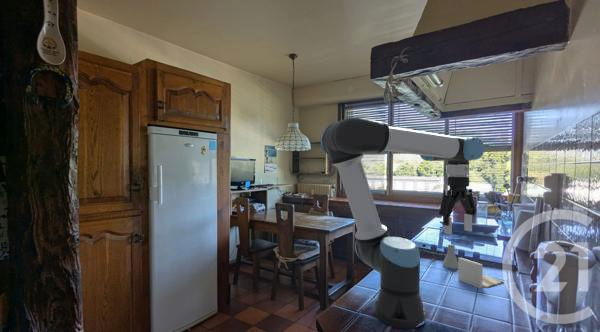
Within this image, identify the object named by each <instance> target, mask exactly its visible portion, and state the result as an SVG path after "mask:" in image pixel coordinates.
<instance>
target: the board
mask: <svg viewBox="0 0 600 332" xmlns="http://www.w3.org/2000/svg"><path fill="white" fill-rule="evenodd" d="M501 284H504V281H502V280H500V279H497V278H495V277H491V276H489V275H485V274H483V285H482V288H485V289H488V288H491V287H494V286H499V285H501Z"/></svg>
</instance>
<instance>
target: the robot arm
mask: <svg viewBox="0 0 600 332" xmlns="http://www.w3.org/2000/svg"><path fill="white" fill-rule="evenodd" d="M320 146H321V148H322V150H323V152H324V153H326V155H328V157H329V160H330V163H331V165H332V166H334V167H336V168H337V172H338V174H339V177H340V180H341V183H342V186H343V189H344V192H345V196H346V198H347V201H348V204H349V208H350V211H351V214H352V217H353V220H354V223H355V226H356V229H357V230H356V231H355V234H354V237H355V243H354V249H355V253H356V256H357V257H358V258H359V259H360V261H362V263H364V264H366V265H367V266H369V267H370V268H371V269H373V270H375V271H376V272H378V273H379V274H380V276H379V278H380V283H379V285H380V286H379V287H380V289H379V291H378V295H377V299H376V301H375V304H374V315H375V317H376V318H377V319H378V320H379V321H380V322H381V323H383V324H385V325H387V326H389V327H393V328H396V329H403V330H404V329H405V330H414V329H417V328H416V326H417V325H418V324H420V323H422V322H423V321H425V320H427V318H426V317H427V315H426V310H425V308H424V305H423V301H422V297H421V293H420V290H421V289H420V282H421V278H420V277H421V272H420V271H421V257H420V256H421V255H420V254H421V253H420V249H419V246H418V245H417V244H416V243H415V242H413V241H412V240H410V239H408V238H402V237H399V236H390V233H389V230H388V228H387V226H386V225H384V224H383V223H381V220H380V216H379V213H378V210H377V207H376V204H375V199H374V198H373V194H372V191H371V188H370V185H369V181H368V178H367V175H366V172H365V168H364V166H363V161H362V159H363V157H364V155H365V154H366V153H373V154H374V153H376V154H382V153H384V152H393V153H401V154H410V155H418V156H420V158H421V159H422V160H424V161H427V162H428V161H429V162H435V161H436V162H437V161H438V162H447V163H446V165H447V166H446V168H447V169H446V175H447V177H446V179H447V180H446V181H447V186H448V187H449V189H443V193H442V194H443V195H442V200H441V202H440V203H441V204H440V208H439V214H438V215H440V217H443V221H442V222H443V234H446V235H451V236H452V234H453V233H452V232H453V231H452V229H453V228H452V225H453V223H452V222H453V221H452V218H453V217H452V216H451V215H452V212H453V210H454V207H455V206H456V203H458V202H459V201H460V203H461V206H462V208H463V210H464V211H465V213H464V215H463V216H464V218H463V219H464V221H463V227H464V229H463V230H464V231H466V232H473V216H475V215H476V213H477V208H476V204H475V201H474V196H473V189H472V188H467V187H469V186H470V177H469V175H470V161H476V160H479V159H480V158H482V156H484V153H485V144H484V142H483V140H482V139H481V138H479V137H476V136H473V137H471V136H466V135H455V136H452V135H446V134H439V133H432V132H428V131H420V130H414V129H409V128H401V127H394V126H389V124H388V123H387V122H384V121H377V120H373V119H367V118H361V117H347V118H345V119H341V120H339V121H337V122H333V123H330V124H329V125H328V126H327V127H325V128H324V130H323V131H322V133H321V135H320Z"/></svg>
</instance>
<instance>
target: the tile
mask: <svg viewBox="0 0 600 332" xmlns="http://www.w3.org/2000/svg"><path fill="white" fill-rule="evenodd" d="M457 261H458V269H457V273H458V274H457V275H458V276H457V277H458V278H457V279H458V281H460V282H463V283H466V284H468V285H471V286H473V287H476V288H478V289H481V288H483V287H482V285H483V275H484V274H483V272H484V269H483V263H482V264H481V263H480V262H476V261H472V260H469V259H467V258H464V257H458V258H457Z"/></svg>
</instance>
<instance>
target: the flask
mask: <svg viewBox="0 0 600 332" xmlns="http://www.w3.org/2000/svg"><path fill="white" fill-rule="evenodd" d="M455 248H456V245H454V244H447V253H446V255H445V257H444V260H443V263H442V267H444V268H447V269H450V270H458V258H457V256H456V255H457V254H456V251H455Z"/></svg>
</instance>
